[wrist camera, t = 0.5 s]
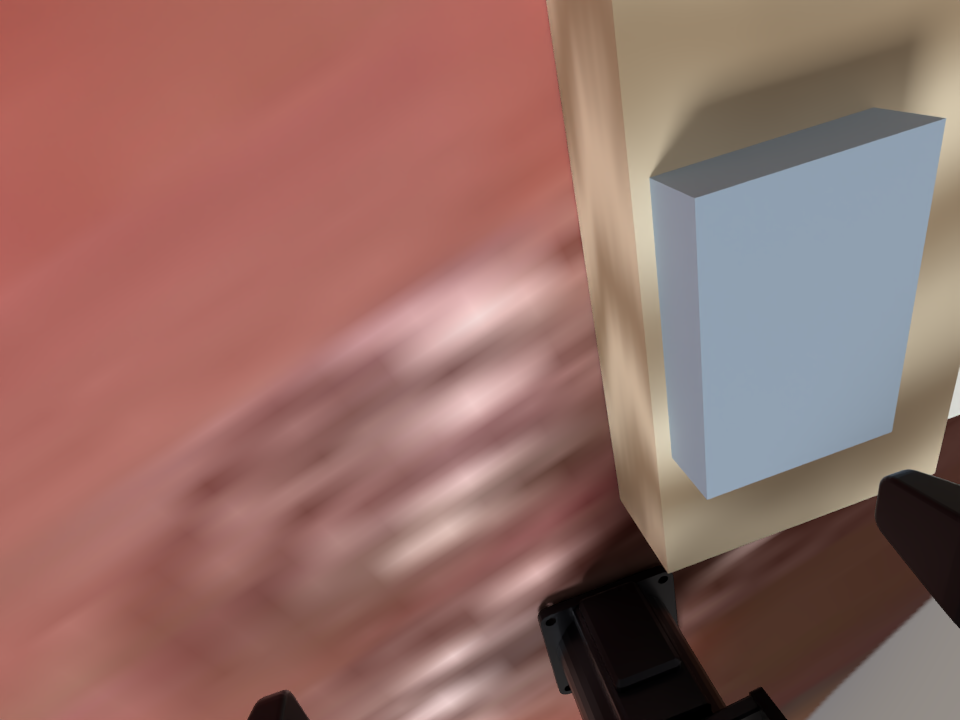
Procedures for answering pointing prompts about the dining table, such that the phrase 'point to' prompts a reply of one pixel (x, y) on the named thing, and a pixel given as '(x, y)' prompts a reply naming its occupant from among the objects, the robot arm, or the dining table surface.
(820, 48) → the beige flat block
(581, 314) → the dining table surface
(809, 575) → the dining table surface
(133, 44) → the dining table surface
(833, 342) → the block
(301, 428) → the dining table surface
